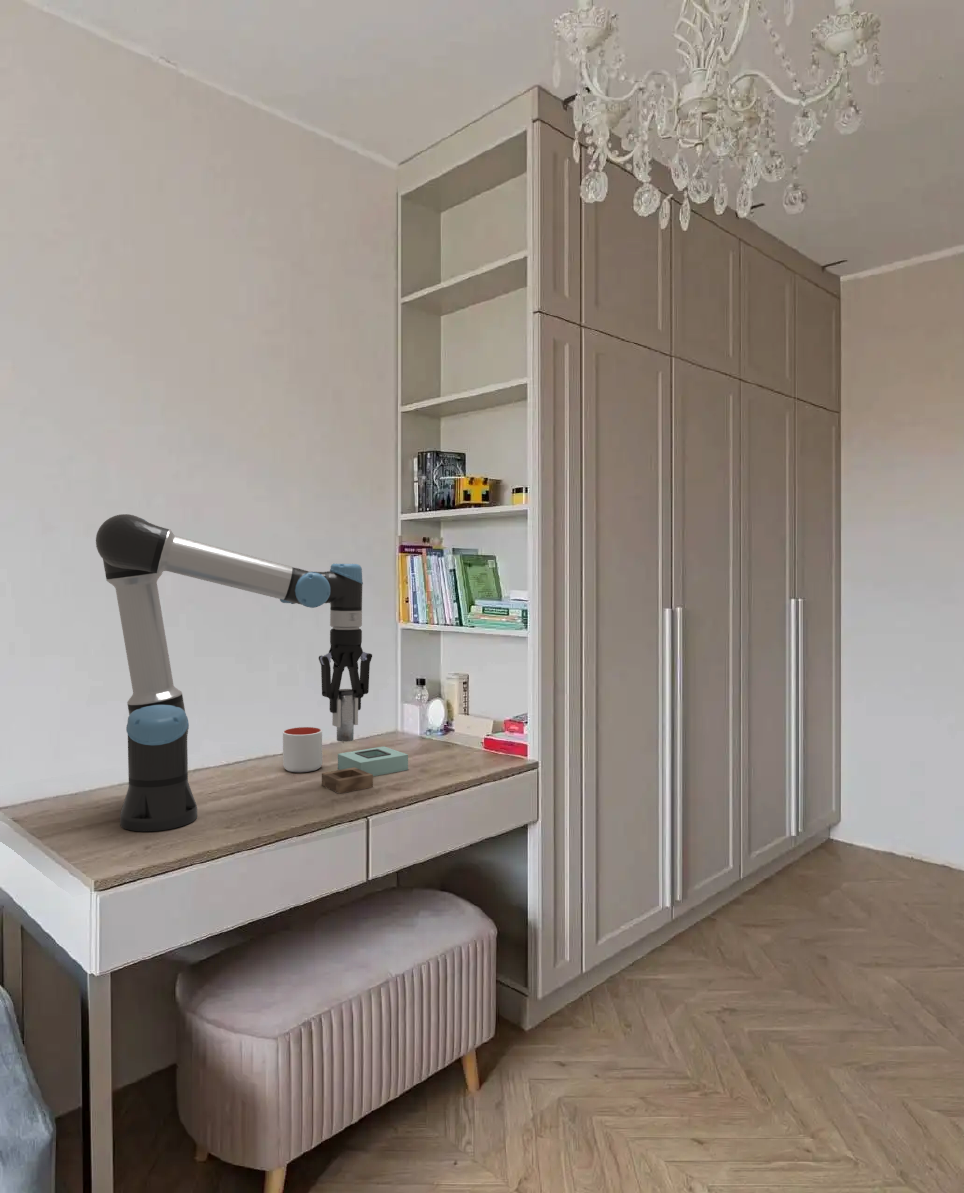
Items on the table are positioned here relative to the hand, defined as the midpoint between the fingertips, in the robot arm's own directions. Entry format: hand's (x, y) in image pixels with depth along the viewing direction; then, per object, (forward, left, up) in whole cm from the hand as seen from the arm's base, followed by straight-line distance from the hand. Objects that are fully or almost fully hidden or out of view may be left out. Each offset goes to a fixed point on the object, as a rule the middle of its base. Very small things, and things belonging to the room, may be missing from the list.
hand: (345, 724), depth 202 cm
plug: (0, 0, -4) cm, 4 cm away
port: (+13, +10, -15) cm, 22 cm away
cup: (-1, +22, -15) cm, 27 cm away
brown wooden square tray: (0, 0, -15) cm, 15 cm away
